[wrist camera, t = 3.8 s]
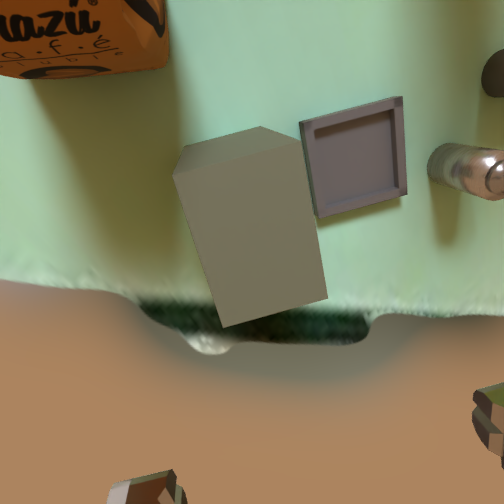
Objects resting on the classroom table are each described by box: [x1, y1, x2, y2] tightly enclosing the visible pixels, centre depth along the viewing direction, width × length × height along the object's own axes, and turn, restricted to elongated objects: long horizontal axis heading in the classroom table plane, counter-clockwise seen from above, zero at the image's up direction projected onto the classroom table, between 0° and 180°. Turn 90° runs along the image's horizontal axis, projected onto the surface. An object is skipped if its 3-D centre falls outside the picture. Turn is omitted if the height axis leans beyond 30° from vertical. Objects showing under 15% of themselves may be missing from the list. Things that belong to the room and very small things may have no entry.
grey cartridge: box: [427, 143, 504, 201], centre depth 31 cm, size 4×4×8 cm
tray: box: [299, 96, 407, 219], centre depth 32 cm, size 9×9×2 cm
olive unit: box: [172, 126, 328, 328], centre depth 26 cm, size 8×10×14 cm
